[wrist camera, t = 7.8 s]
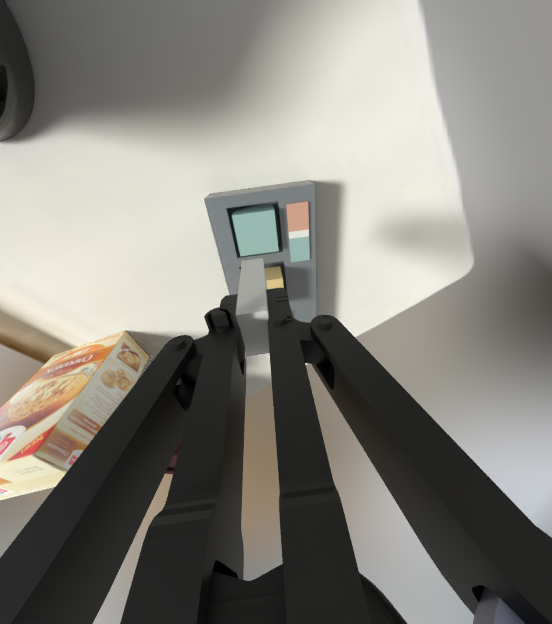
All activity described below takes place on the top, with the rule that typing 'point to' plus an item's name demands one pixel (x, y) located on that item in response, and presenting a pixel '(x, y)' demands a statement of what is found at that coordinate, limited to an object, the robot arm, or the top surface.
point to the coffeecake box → (64, 411)
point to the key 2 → (255, 229)
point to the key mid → (274, 277)
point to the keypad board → (290, 234)
